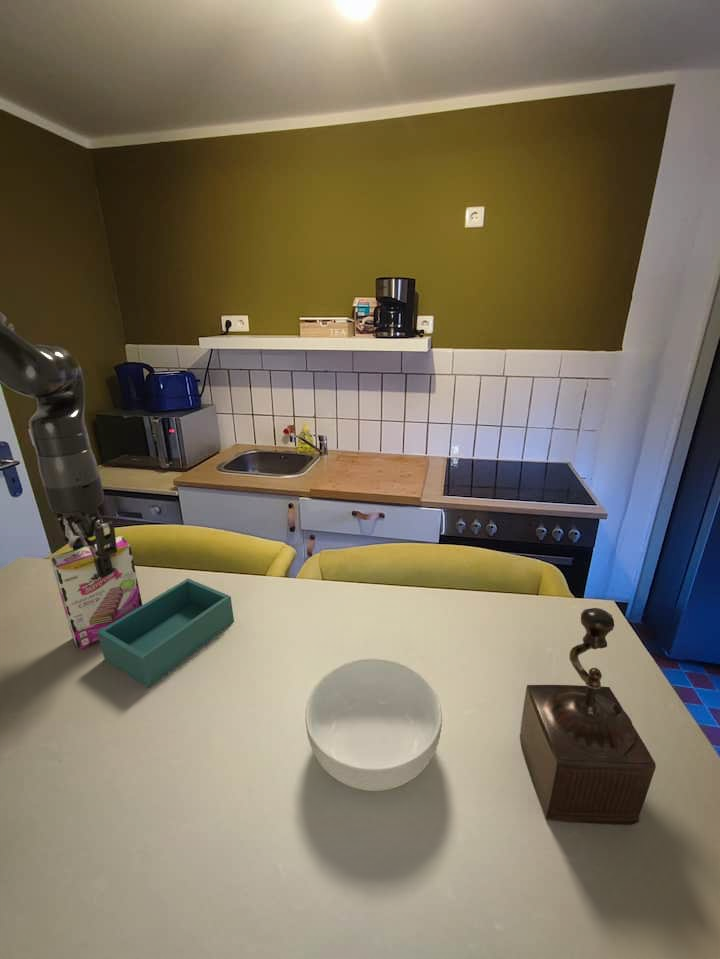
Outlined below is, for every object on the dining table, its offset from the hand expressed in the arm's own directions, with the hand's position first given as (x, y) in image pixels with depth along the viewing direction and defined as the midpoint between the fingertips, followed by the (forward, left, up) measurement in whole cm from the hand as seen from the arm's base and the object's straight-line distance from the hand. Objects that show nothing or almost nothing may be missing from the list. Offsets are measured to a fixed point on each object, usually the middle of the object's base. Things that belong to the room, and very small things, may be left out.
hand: (95, 569), depth 73 cm
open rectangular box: (+12, +4, -13) cm, 18 cm away
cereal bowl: (+52, +4, -13) cm, 54 cm away
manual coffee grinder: (+74, +15, -13) cm, 76 cm away
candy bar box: (0, 0, -13) cm, 13 cm away
